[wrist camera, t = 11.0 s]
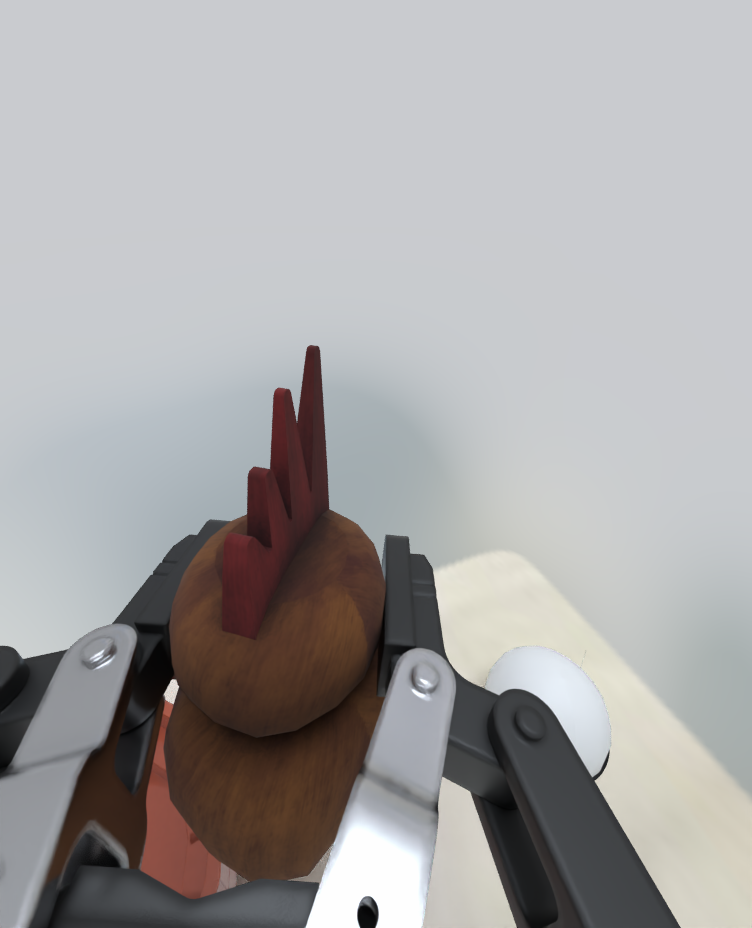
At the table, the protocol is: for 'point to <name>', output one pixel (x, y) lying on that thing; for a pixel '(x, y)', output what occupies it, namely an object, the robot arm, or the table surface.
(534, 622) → the table surface
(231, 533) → the wooden figurine
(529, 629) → the table surface
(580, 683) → the white oval solid
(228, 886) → the bowl
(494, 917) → the table surface
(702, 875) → the table surface
